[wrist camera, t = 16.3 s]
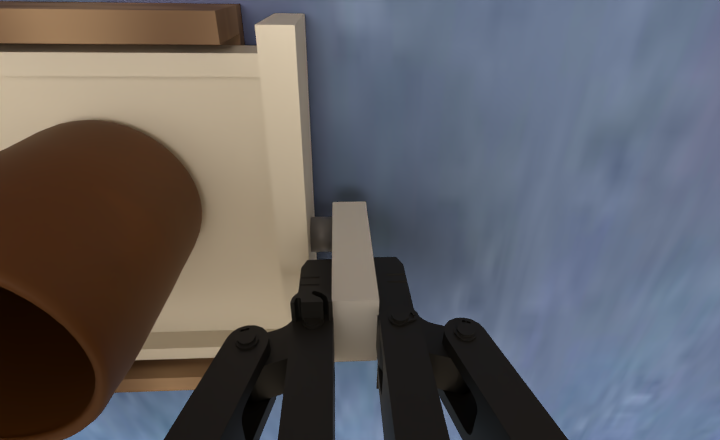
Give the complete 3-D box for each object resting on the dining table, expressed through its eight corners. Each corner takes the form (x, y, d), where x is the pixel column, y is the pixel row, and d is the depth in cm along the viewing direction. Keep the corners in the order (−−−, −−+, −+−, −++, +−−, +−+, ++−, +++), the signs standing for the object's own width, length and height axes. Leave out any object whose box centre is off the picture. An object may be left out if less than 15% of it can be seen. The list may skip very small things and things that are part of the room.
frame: (-3, 340, 25) (-58, 398, 21) (-210, -2, 16) (-362, 4, 12) (279, 332, 26) (270, 387, 22) (240, 4, 17) (214, 11, 13)
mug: (37, 312, 22) (-143, 514, 13) (-96, 193, 18) (-453, 372, 10) (239, 233, 20) (171, 411, 12) (137, 82, 16) (-64, 188, 8)
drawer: (34, 339, 25) (-25, 410, 21) (-143, 8, 16) (-310, 19, 12) (336, 330, 26) (336, 397, 21) (329, 14, 17) (327, 25, 13)
